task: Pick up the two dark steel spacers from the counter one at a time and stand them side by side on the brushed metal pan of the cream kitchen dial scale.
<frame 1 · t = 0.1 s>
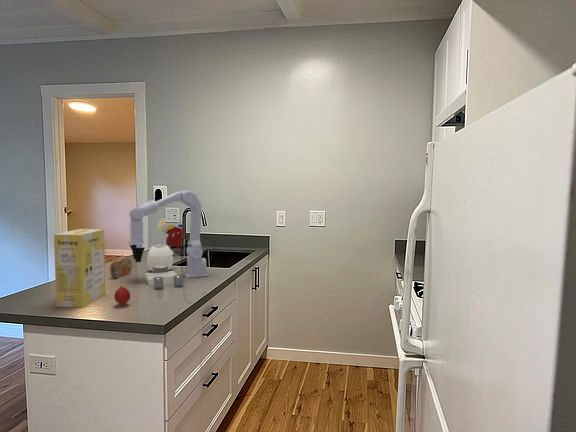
hand: (137, 260, 200), 10 cm above the worktop, tool pointing down, fingers open, 7 cm apart
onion: (122, 305, 163), on the worktop
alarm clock: (176, 247, 298), on the worktop
spacer 1: (178, 286, 192), on the worktop
kitchen scale: (162, 281, 201), on the worktop
pasta box: (82, 300, 169), on the worktop
flower in vase: (164, 256, 265), on the worktop
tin: (121, 276, 211), on the worktop
spacer 2: (158, 288, 188), on the worktop
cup: (160, 271, 223), on the worktop
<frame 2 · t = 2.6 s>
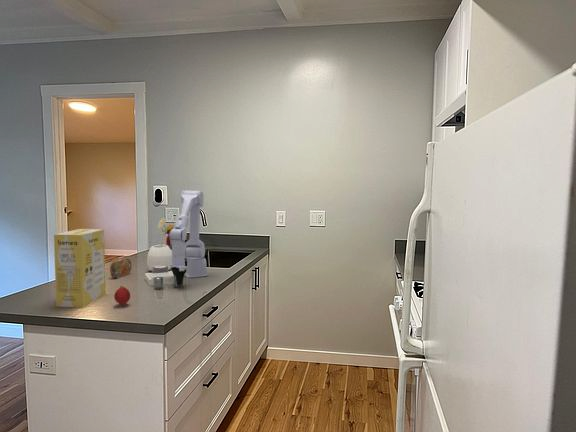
hand: (178, 283, 192), 1 cm above the worktop, tool pointing down, fingers closed on spacer 1, 4 cm apart
spacer 1: (178, 286, 192), on the worktop, touching gripper
everything else where it was.
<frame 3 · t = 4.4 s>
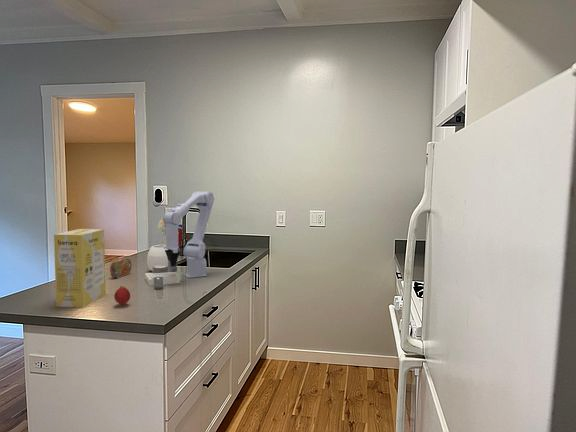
hand: (172, 265, 198), 8 cm above the worktop, tool pointing down, fingers closed on spacer 1, 4 cm apart
spacer 1: (172, 271, 199), point 5 cm above the worktop, touching gripper
everything else where it was.
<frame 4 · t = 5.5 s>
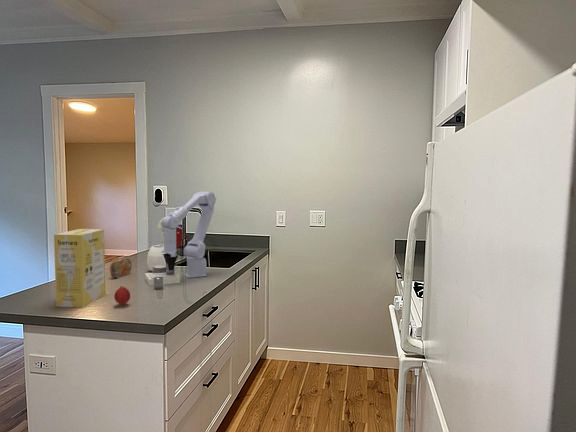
hand: (170, 269, 201), 6 cm above the worktop, tool pointing down, fingers closed on spacer 1, 4 cm apart
spacer 1: (170, 274, 201), point 4 cm above the worktop, touching gripper, kitchen scale
everything else where it was.
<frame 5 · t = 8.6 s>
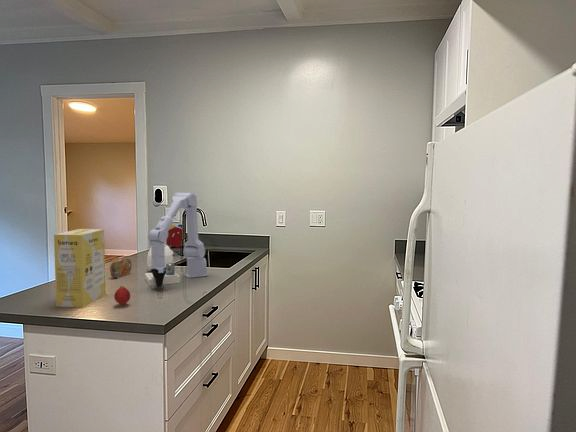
hand: (158, 285, 188), 1 cm above the worktop, tool pointing down, fingers closed on spacer 2, 4 cm apart
spacer 1: (170, 274, 201), point 4 cm above the worktop, touching kitchen scale
spacer 2: (158, 288, 188), on the worktop, touching gripper
everything else where it was.
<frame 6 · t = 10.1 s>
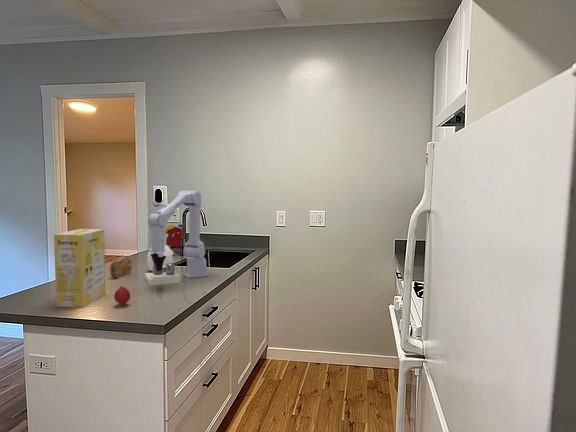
hand: (158, 270, 188), 8 cm above the worktop, tool pointing down, fingers closed on spacer 2, 4 cm apart
spacer 2: (158, 273, 188), point 7 cm above the worktop, touching gripper
everything else where it was.
when the fingers open (6 cm above the worktop, at t = 11.5 s): spacer 2 stays where it is, resting on kitchen scale.
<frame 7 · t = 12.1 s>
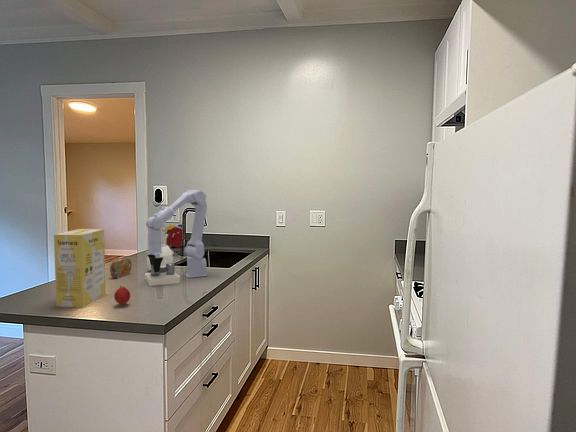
hand: (155, 270, 198), 6 cm above the worktop, tool pointing down, fingers open, 7 cm apart
spacer 2: (155, 275, 198), point 4 cm above the worktop, touching kitchen scale
everything else where it was.
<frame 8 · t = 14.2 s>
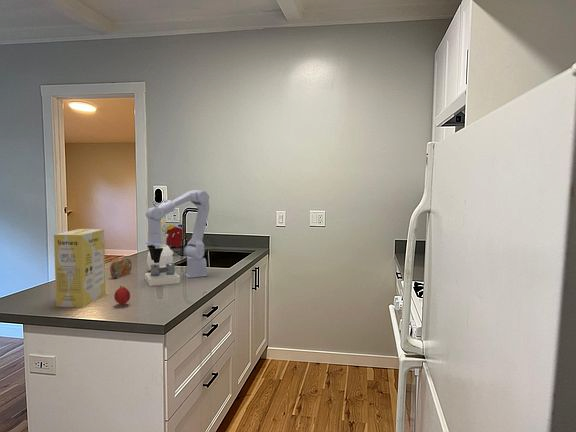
hand: (155, 261, 197), 10 cm above the worktop, tool pointing down, fingers open, 7 cm apart
nothing on the worktop moved.
at the end: spacer 1 inside the target area on the kitchen scale (3.5 cm from its centre), point 3.6 cm above the kitchen scale's base; spacer 2 inside the target area on the kitchen scale (3.6 cm from its centre), point 3.6 cm above the kitchen scale's base; spacer 2 tilted 1° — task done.
